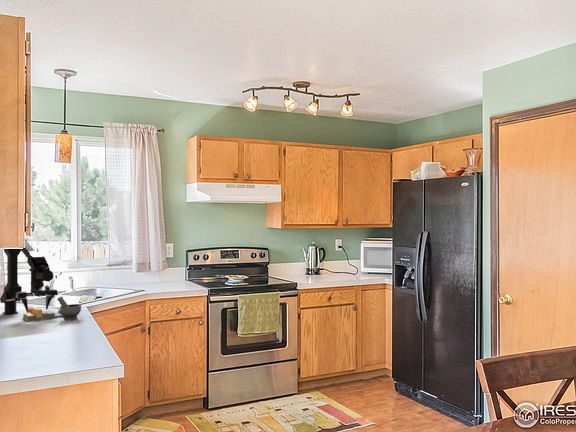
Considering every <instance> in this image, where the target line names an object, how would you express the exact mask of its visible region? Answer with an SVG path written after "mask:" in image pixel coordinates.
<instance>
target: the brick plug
mask: <svg viewBox="0 0 576 432" xmlns="http://www.w3.org/2000/svg"><path fill="white" fill-rule="evenodd" d="M32 308H34V307H33V306H28V312H27V311H26V313H32Z"/></svg>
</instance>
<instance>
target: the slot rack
mask: <svg viewBox="0 0 576 432" xmlns="http://www.w3.org/2000/svg"><path fill="white" fill-rule="evenodd" d="M22 316H23V317H22V318H23V319H24V320H25V321H27V322H31V321H41V319H43V320H50V318H51V319H59V317H60V318H64V316H63V315H62V314H61V311H60V308H59V309H58V311H57V312H53V311H51V310H48V309H47V310H42V317H40V318H35V315H33V314H32V313H27V312H23V314H22Z"/></svg>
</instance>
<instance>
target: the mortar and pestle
mask: <svg viewBox="0 0 576 432" xmlns="http://www.w3.org/2000/svg"><path fill="white" fill-rule="evenodd" d="M57 301H58V302H59V304H60V307H59V309H60V311H61V314H62V315H63V316H64V317H63V321H65V320H66V322H67V321H68V322H69V321H70V320H71V321H76V320H78V315H80V313H81V311H82V305H81V304H77V303H76V304H75V303H73V304H68V303H67V302H66V301H65V299H64V296H62V295H61V296H59V297H58V298H57Z"/></svg>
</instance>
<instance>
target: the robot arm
mask: <svg viewBox="0 0 576 432" xmlns="http://www.w3.org/2000/svg"><path fill="white" fill-rule="evenodd" d="M3 252H4V253H5V255H6V257H7V266H6V267H7V271H6V274H7V275H6V276H7V277H6V278H7V282H6V284H5V286H4V288H3V292H2V295H1V296H0V303H1V304H4V305H3V306H4V311H2V314H3V313H4V315H12V314H14V313H15V314H19V311H17V302H22V304H23V306H24V309H25V311H26V313H27V312H28V307H29V305H28V298H27V297H44V296H45V311H48V309H49V306H50V304H51V301H52V299H53V298H55V297H56V296H58V294H59V291H58V289H55V288H52V289H51V287H50V285H45V284H44V282H50V281H52V280H53V279H54V276H55V275H54V273H53V270H51V268H50V265H49V263H48V261H47V259H46V257H45V256H44V255H43V254H42V253H40V252H37V251H36V250H35V249H34V248H33V247H32V245H31V244H30V243H29V242H28V239H27V238H25V248H23V249H4V248H3ZM21 252H22V254H24V256H25V257H26V259H27V260H26V263H27V264H28V266H29V267H30V268H29V269H28V271H29V272H30V292H26V291H22V289H23V287H22V286H21V285H20V284H19V283H18V282H19V280H18V279H19V278H18V277H19V275H18V274H19V273H18V271H19V270H18V269H19V268H18V266H19V265H18V261H19V260H18V257H19V255H20V254H21Z"/></svg>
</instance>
